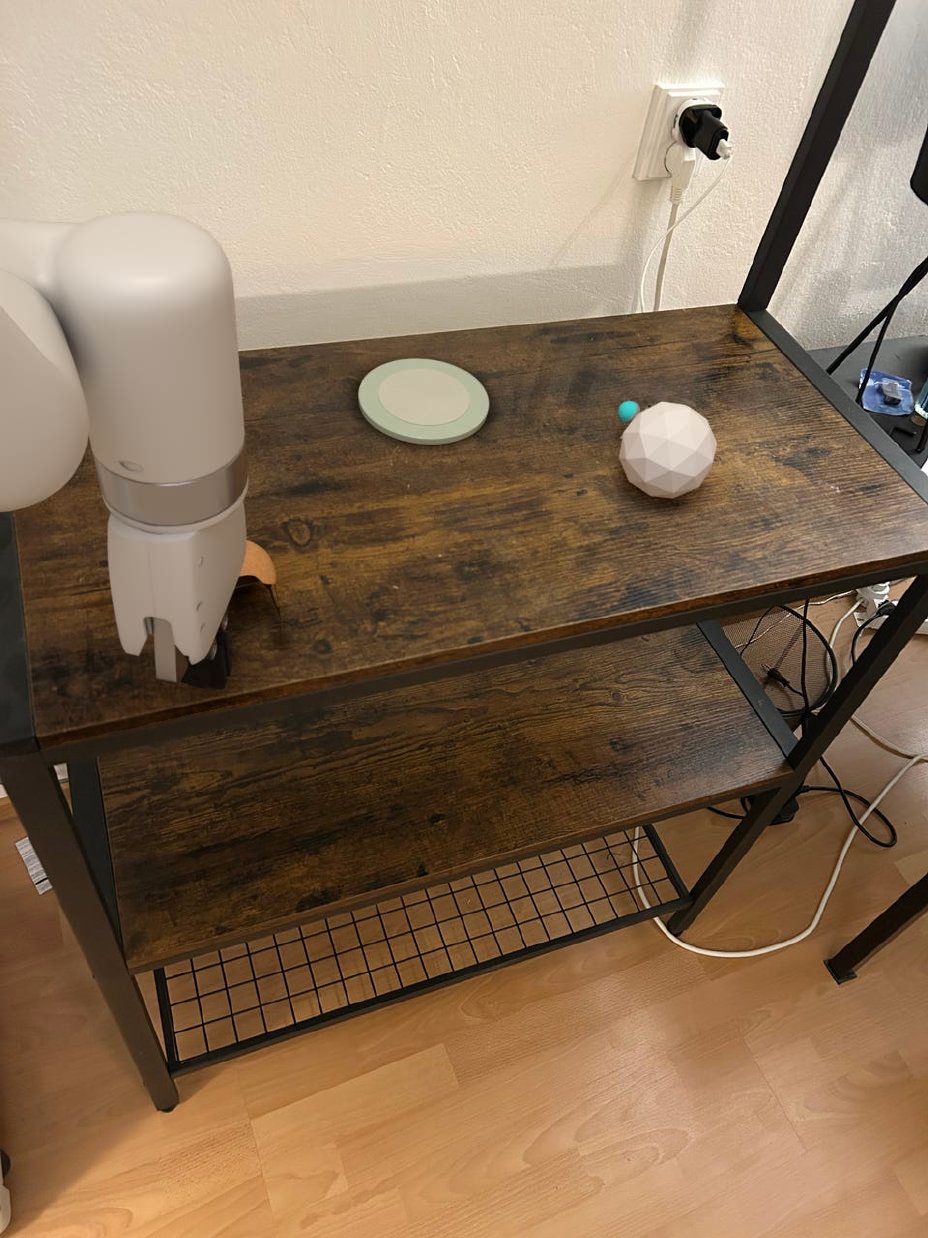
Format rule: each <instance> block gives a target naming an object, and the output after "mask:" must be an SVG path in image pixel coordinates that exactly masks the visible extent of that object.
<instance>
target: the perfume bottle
mask: <svg viewBox="0 0 928 1238" xmlns="http://www.w3.org/2000/svg"><path fill="white" fill-rule="evenodd" d="M640 407H641V406H640V405H639V404H638V402H636V401H632V400H627V401H624V402H622V403H621V404H620V405H619V407H618V410H617V414H618V417H619V419H620V420H621V422H622V423H624V424H628V426H627V427H626V428H625V429H624V431H623V432H622V435H621V436H620V438H619V440H621V444H620V449H619V455H618V459H619V461H620V463H621V466H622V468H623V471H624V473H625V476H626V477H627V480H628V482H629V483H631V484H632V485H634V486H635V487H637V488H638V489H640V491H642V492H644V493H645V494H647V495H648V496H650V497H656V498H666V499H675V498H677V497H680V496H682V495H684V494H687V493H689V492H691V491H694V490H696V489H699V488H700V486H701V484H702V483H703V482H704V480H705V478H706V477H707V475H708V474H709V472H711V470H712V468H713V463H714V460H715V455H716V452H717V451H716V450H717V447H718V442H717V440H716V437H715V435H714V433H713V430H712V428H711V426H710V424H709V421H708V419H707V418H706V417H704V416H703V415H702V414H700V413H698V412H697V411H696V410H694V409H693V408H691V407H690V406H688V405H686V404H681V403H675V402H668V401H661V402H658V403H657V404H655V405H652V406H651V404H648V405H647V406H646V408H644V410H643V411H641V408H640Z"/></svg>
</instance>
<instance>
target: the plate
mask: <svg viewBox="0 0 928 1238" xmlns="http://www.w3.org/2000/svg"><path fill="white" fill-rule="evenodd" d="M357 402H358V408H359V410H360V412H361V415H362V416H363V417H364V419H365V420H366V421H367V422H368V424H370V426H372V427H373V428H374V429H376V430H378V432H381V434H384V435H386V436H388V437H390V438H393V439H395V440H398V441H401V442H405V443H409V444H415V445H423V446H441V445H448V444H452V443H456V442H459V441H463V440H465V439H466V438H469V437H471V436H472V435H474V434H475V433H476V432H478V431H479V430H480V429H481V428H482V426H483V425H484V424H485V422H486V421H487V418H488V416H489V411H490V399H489V395H488V392H487V390H486V388H485V387H484V386H483V384H482V382H480V381H479V380H478V379H477V378H476V377H475V376H473V375H472V374H471V373H469V372H467V370H464V369H462V368H461V367H458V366H456V365H454V364H451V363H448V362H444V361H442V360H436V359H429V358H417V357H415V358H402V359H396V360H393V361H389V362H386V363H383V364H380V365H379V366H377V367H375V368H374V369H372V370H371V371H370V372H368V373H367V374H366V375H365V376H364V378H363V379H362V380H361V383H360V385H359V387H358V396H357Z"/></svg>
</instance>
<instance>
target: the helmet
mask: <svg viewBox="0 0 928 1238" xmlns="http://www.w3.org/2000/svg"><path fill="white" fill-rule="evenodd" d="M277 575H278V574H277V571H276V568H275V565H274V563H273V560H272V559H271V556H270V554H268V553H267V551H266V550H265V549H264V548H263V547H261V546H260V545H259V544H258V543H255V542H254V541H251V540H249V539H247V544H246V555H245V559H244V563H243V566H242V569H241V572H240V575H239V578H238V580H237V583H236V585H235V588H234V589H237V588H242V587H246V586H250V585H254V584H258V583H261V584H262V585H263V587H264V588H265V589H266V590H267V591H268V593H269V596H270V599H271V602H272V604H273V607H274V608H275V610H276V612H277V615H278V619H279V622H280V623H279V624H280V630H281V643H284V626H283V620H282V613H281V607H280V606H279V605H280V600H279V596H278V591H277V586H276V583H277ZM273 588H274V590H275V595H276V598H275V596H274V593H273ZM276 599H277V600H276Z"/></svg>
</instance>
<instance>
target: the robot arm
mask: <svg viewBox="0 0 928 1238" xmlns="http://www.w3.org/2000/svg"><path fill="white" fill-rule="evenodd" d="M235 301H236V300H235V289H234V280H233V273H232V266H231V263H230V261H229V258H228V255H227V254H226V252H225V250H224V249H223V247H222V245H221V243H220V242H219V241H218V240H217V239H216V237H215V236H213V235H212V233H211V232H210V231H209V230H207V229H205V228H204V227H202V226H201V225H199V224H197V223H196V222H193V221H191V220H189V219H187V218H185V217H181V216H179V215H175V214H172V213H167V212H162V211H154V210H126V211H125V210H124V211H118V212H112V213H111V212H110V213H108V214H102V215H99V216H96V217H94V218H91V219H88V220H87V221H84V222H65V221H63V222H62V221H61V222H60V221H58V222H57V221H44V220H33V219H19V218H8V217H0V513H6V512H7V513H8V512H12V511H16V510H17V511H18V510H21V509H24V508H29V507H31V506H33V505H35V504H36V505H37V503H38V504H39V503H40V502H43V501H46V500H47V499H48V498H49V497H50V498H51V496H52V495H54V494H55V493H57V492H58V491H60V490H61V489H62V488H63V487H64V486H65V485H66V484H67V483H68V482H69V481H70V480H71V479H72V478H73V476H74V474H75V473H76V471H77V470H78V468H79V466H80V465H81V463H82V461H83V458H84V455H85V453H86V450H87V447H88V441H89V443H90V449H91V453H92V458H93V462H94V466H95V471H96V476H97V481H98V483H99V488H100V492H101V497H102V500H103V502H104V504H105V506H106V508H107V509H108V511H109V512H110V513H109V517H108V521H107V534H106V535H107V566H108V576H109V583H110V584H109V585H110V591H111V598H112V599H111V600H112V604H113V612H114V618H115V623H116V628H117V633H118V638H119V642H120V645H121V647H122V649H123V651H124V652H125V654H129V655H133V656H137V657H140V655H141V652H142V650H143V648H144V647H145V643H146V642H147V639H148V637H149V635H151V636H152V635H153V650H154V651H153V652H154V666H155V667H154V668H155V670H154V671H155V680H156V682H161V683H166V684H172V685H177V686H178V685H179V684H180V683H183V684H186V685H188V686H189V687H193V688H198V689H206V688H210V689H217V690H225V689H226V686H227V683H228V677H230V675H231V673H232V670H233V665H232V663H233V662H232V656H231V655H232V654H231V647H230V638H229V633H228V632H225V631H226V629H227V626H228V622H229V604H230V601H231V598H232V595H233V593H234V590H235V589H236V588H235V585H236V583H237V580H238V578H239V575H240V572H241V569H242V566H243V563H244V559H245V555H246V544H247V540H248V539H247V521H246V512H245V510H246V509H245V504H244V503H245V502H244V501H245V498H246V496H247V494H248V491H249V490H248V489H249V473H248V463H247V462H248V461H247V459H248V458H247V448H246V447H247V446H246V434H245V419H244V418H245V417H244V406H243V396H242V395H243V394H242V383H241V371H240V358H239V356H240V355H239V344H238V341H239V340H238V330H237V329H238V328H237V316H236V315H237V313H236V303H235Z"/></svg>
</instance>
